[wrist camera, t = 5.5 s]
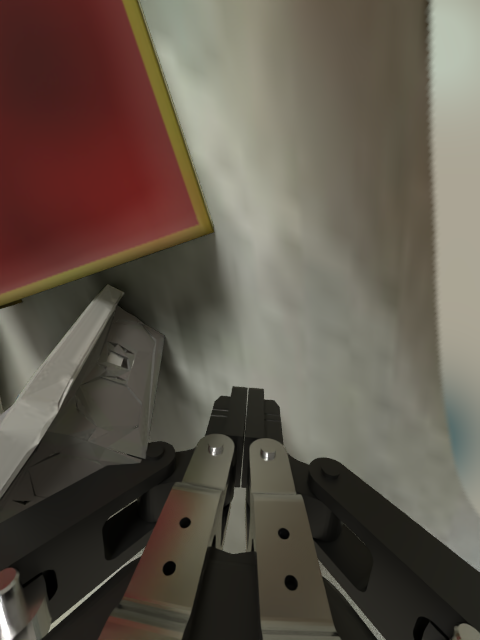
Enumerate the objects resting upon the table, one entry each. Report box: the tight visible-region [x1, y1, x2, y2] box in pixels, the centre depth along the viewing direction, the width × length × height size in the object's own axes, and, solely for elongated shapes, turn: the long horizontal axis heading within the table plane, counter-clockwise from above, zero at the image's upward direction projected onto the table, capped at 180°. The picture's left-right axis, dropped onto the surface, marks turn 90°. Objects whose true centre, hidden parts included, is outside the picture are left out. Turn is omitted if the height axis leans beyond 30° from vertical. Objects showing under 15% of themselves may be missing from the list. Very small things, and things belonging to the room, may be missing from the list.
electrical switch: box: [0, 284, 165, 523], centre depth 12 cm, size 9×5×9 cm, turn 142°
